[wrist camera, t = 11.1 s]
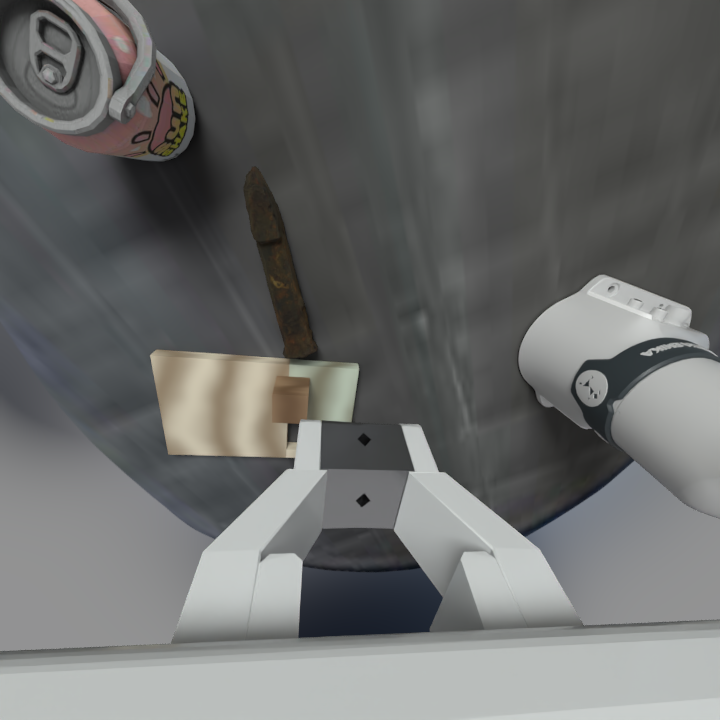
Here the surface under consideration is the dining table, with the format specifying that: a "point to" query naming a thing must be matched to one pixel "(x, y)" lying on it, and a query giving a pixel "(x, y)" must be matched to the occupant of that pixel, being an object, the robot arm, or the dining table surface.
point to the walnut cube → (290, 399)
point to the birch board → (241, 401)
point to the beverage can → (93, 78)
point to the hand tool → (278, 267)
